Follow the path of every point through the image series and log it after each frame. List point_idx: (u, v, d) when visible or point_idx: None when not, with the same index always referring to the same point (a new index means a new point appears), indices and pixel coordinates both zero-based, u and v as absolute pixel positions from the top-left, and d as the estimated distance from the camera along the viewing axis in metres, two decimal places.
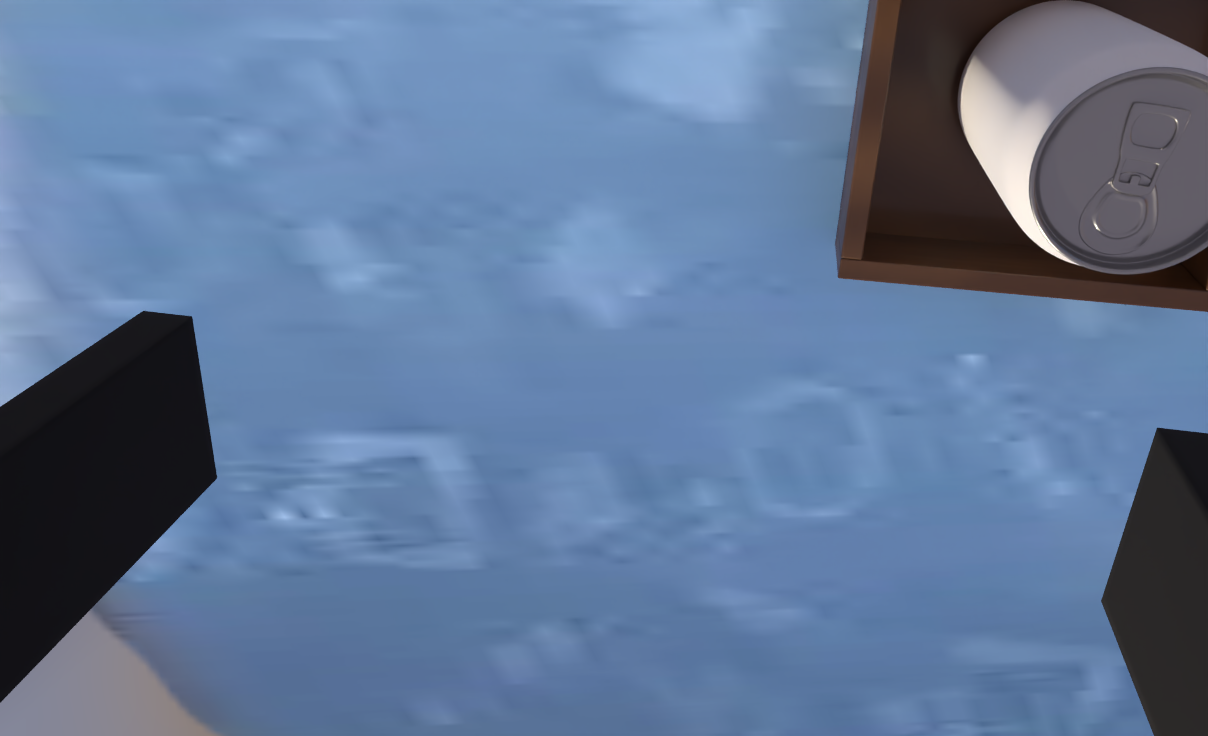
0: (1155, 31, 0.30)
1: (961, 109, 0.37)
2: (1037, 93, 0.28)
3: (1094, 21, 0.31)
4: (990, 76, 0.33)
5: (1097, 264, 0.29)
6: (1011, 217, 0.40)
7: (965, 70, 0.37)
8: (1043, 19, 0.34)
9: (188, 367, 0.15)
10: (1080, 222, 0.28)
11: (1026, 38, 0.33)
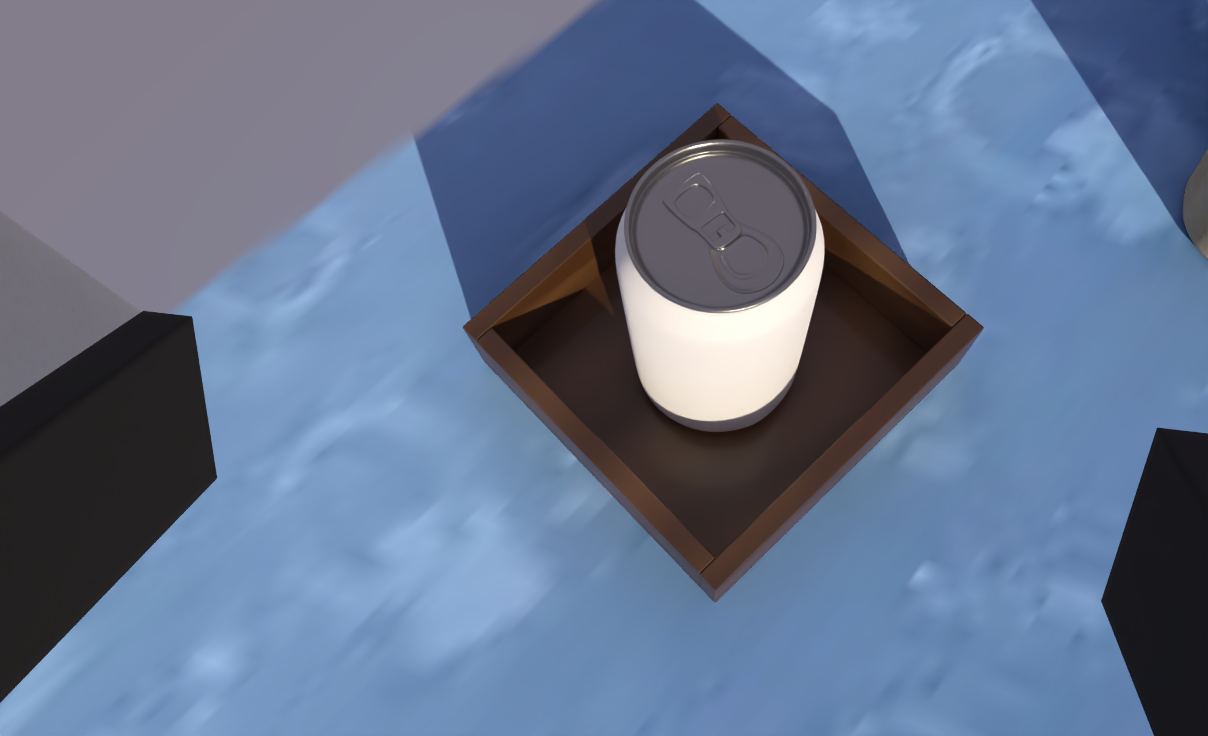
0: None
1: (667, 408, 0.39)
2: (617, 268, 0.32)
3: None
4: (633, 345, 0.36)
5: (772, 293, 0.29)
6: (800, 447, 0.40)
7: (646, 392, 0.40)
8: None
9: (188, 368, 0.15)
10: (727, 285, 0.30)
11: None
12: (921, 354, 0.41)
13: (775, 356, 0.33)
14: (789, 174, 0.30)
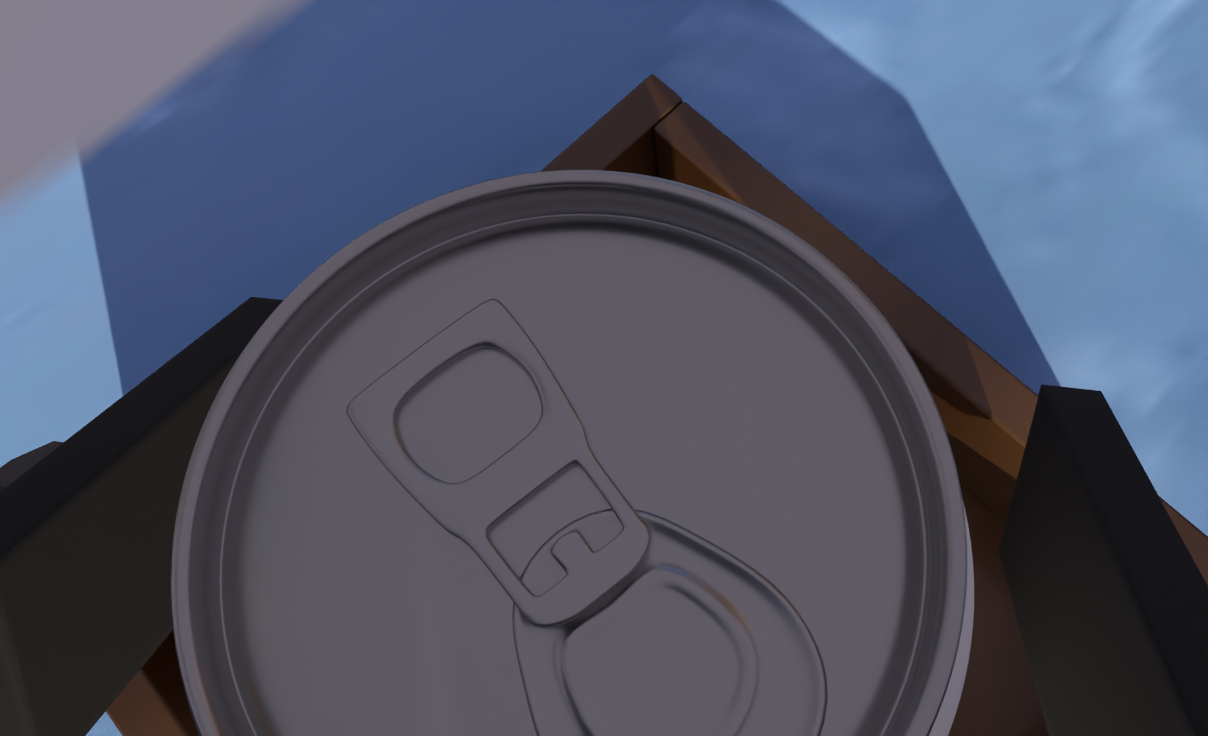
0: None
1: None
2: None
3: None
4: None
5: None
6: None
7: None
8: None
9: None
10: None
11: None
12: None
13: None
14: (842, 308, 0.08)
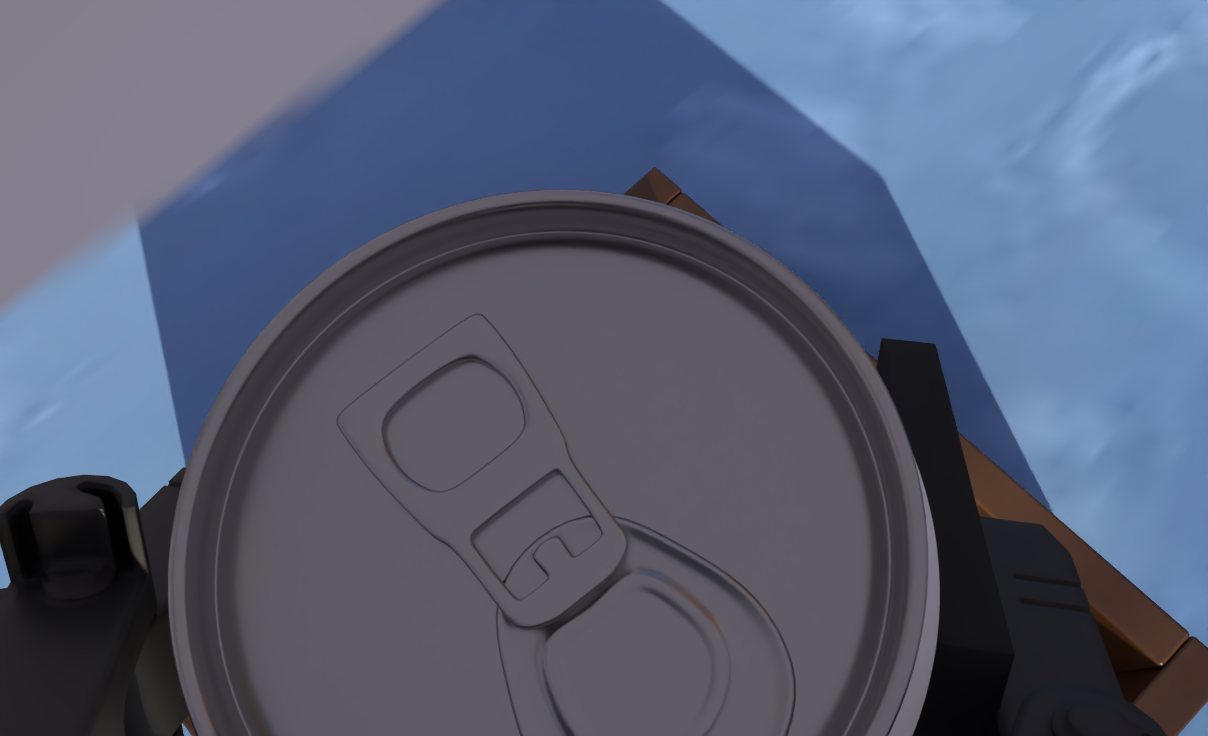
0: None
1: None
2: None
3: None
4: None
5: None
6: None
7: None
8: None
9: None
10: None
11: None
12: None
13: None
14: (811, 323, 0.08)
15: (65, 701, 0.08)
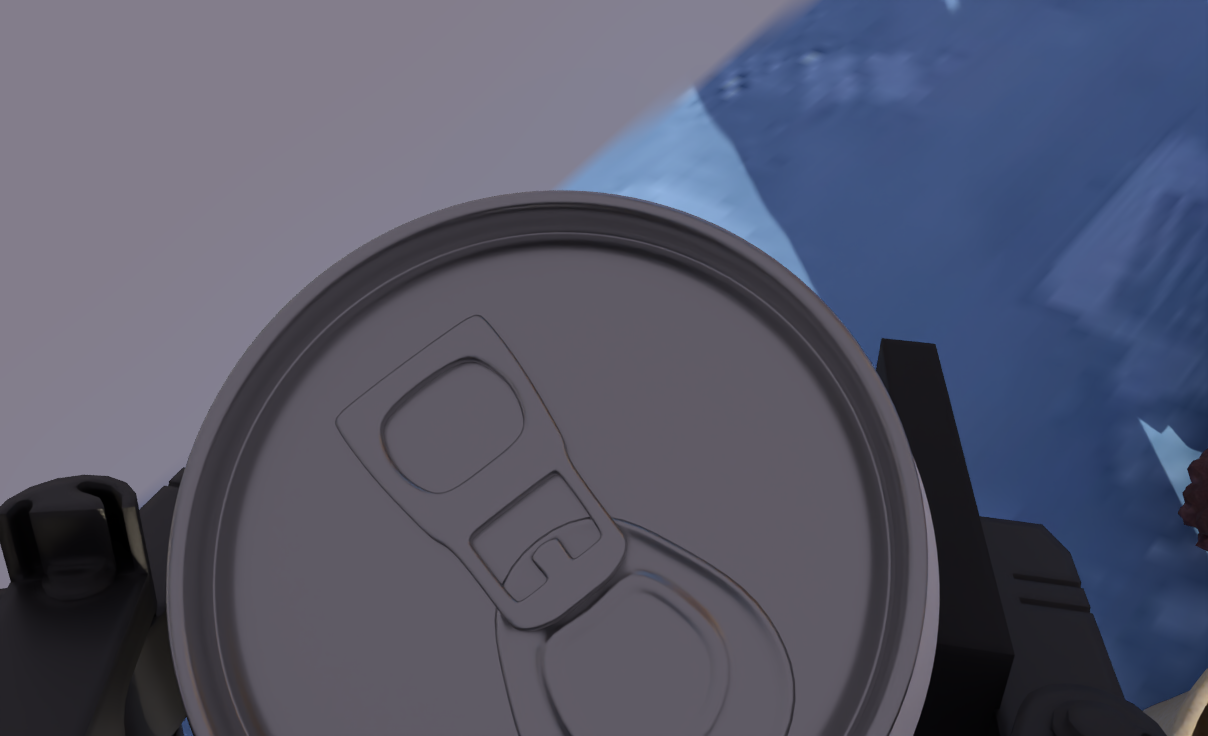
0: None
1: None
2: None
3: None
4: None
5: None
6: None
7: None
8: None
9: None
10: None
11: None
12: None
13: None
14: (810, 324, 0.08)
15: (65, 701, 0.08)
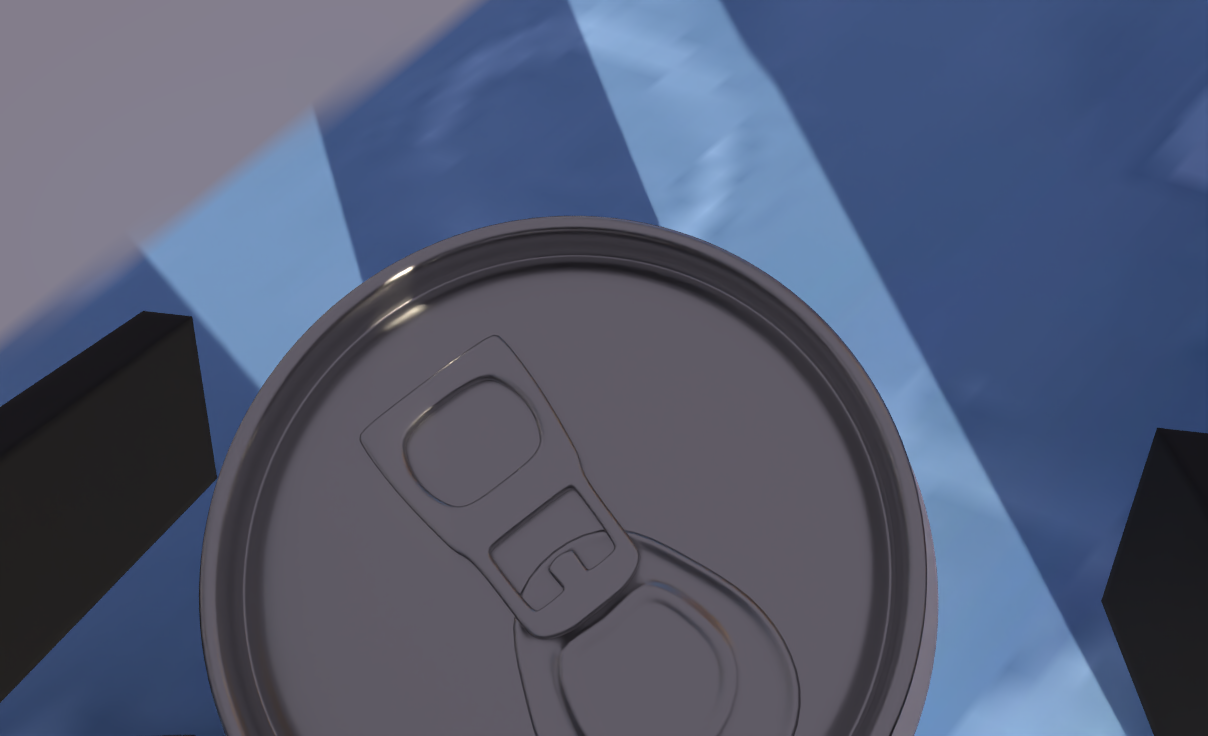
0: None
1: None
2: None
3: None
4: None
5: None
6: None
7: None
8: None
9: (188, 368, 0.15)
10: None
11: None
12: None
13: None
14: (815, 345, 0.08)
15: None
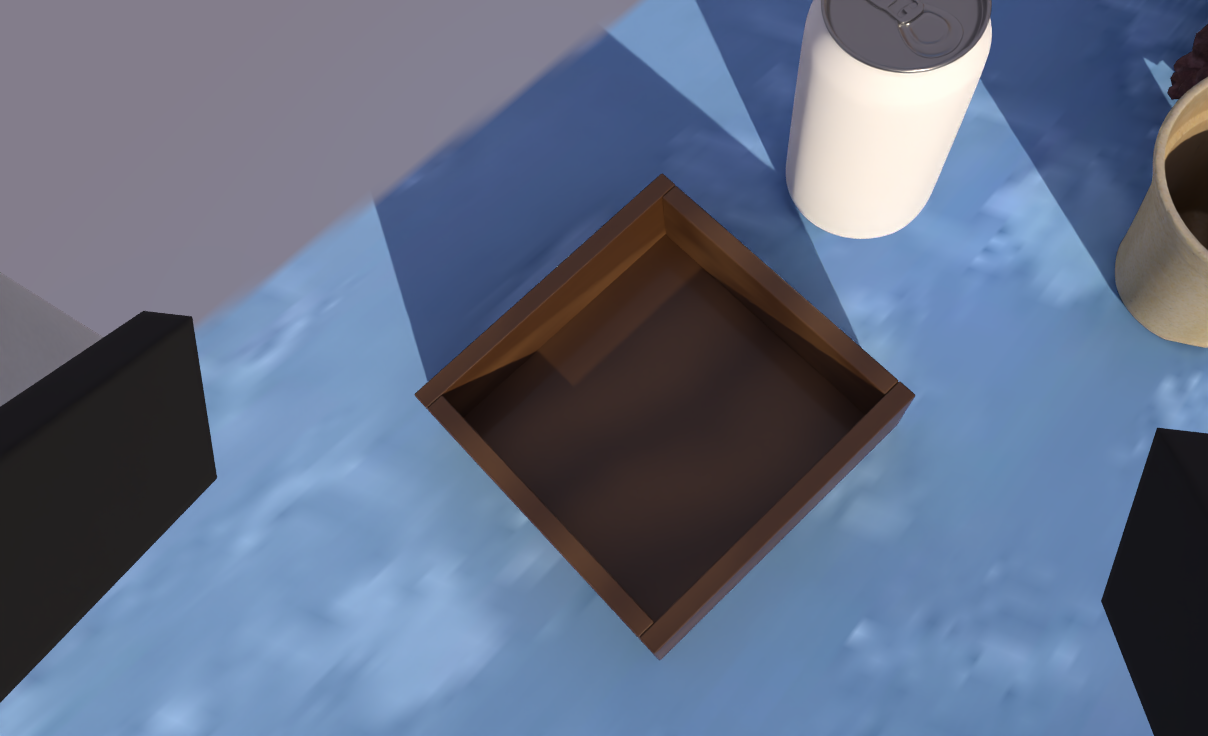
0: None
1: (821, 213, 0.43)
2: (808, 50, 0.36)
3: None
4: (800, 145, 0.41)
5: None
6: (743, 508, 0.41)
7: (799, 204, 0.45)
8: None
9: (188, 368, 0.15)
10: (914, 52, 0.34)
11: (792, 113, 0.41)
12: (861, 416, 0.42)
13: (941, 134, 0.37)
14: None
15: None
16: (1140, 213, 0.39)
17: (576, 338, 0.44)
